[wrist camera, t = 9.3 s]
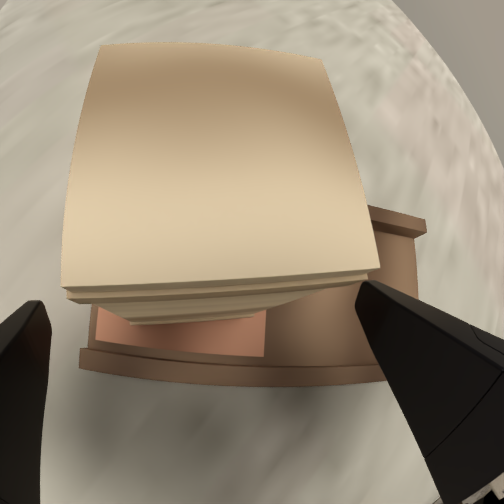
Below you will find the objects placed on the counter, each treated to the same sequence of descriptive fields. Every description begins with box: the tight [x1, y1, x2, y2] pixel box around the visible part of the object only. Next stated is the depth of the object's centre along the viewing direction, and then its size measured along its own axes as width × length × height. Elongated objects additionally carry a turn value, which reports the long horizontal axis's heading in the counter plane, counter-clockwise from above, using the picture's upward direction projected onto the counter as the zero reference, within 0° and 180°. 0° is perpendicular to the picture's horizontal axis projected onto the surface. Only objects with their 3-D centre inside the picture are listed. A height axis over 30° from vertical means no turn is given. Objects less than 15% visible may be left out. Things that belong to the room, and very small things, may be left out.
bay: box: [79, 205, 427, 387], centre depth 18 cm, size 21×11×2 cm, turn 87°
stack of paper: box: [61, 42, 380, 325], centre depth 11 cm, size 6×6×12 cm
